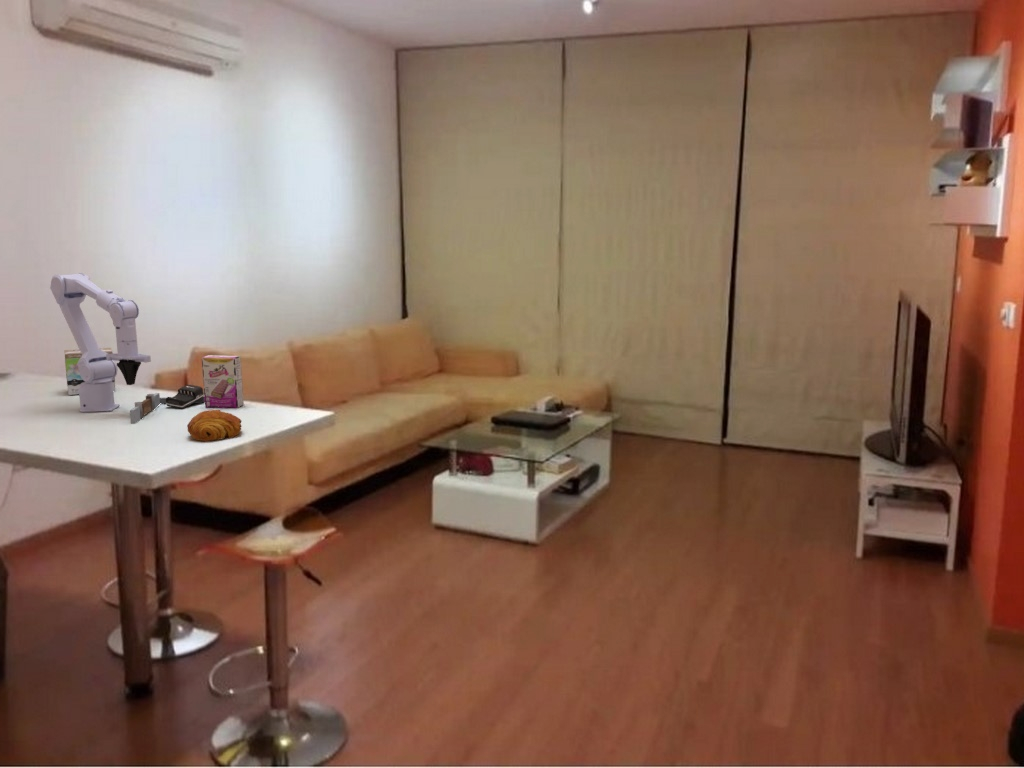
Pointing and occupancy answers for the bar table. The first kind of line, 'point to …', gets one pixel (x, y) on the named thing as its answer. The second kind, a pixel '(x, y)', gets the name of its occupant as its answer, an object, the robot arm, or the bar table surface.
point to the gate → (147, 405)
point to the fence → (137, 411)
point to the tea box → (77, 370)
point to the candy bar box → (222, 381)
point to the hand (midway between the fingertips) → (130, 384)
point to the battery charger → (185, 396)
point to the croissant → (214, 425)
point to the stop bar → (163, 400)
